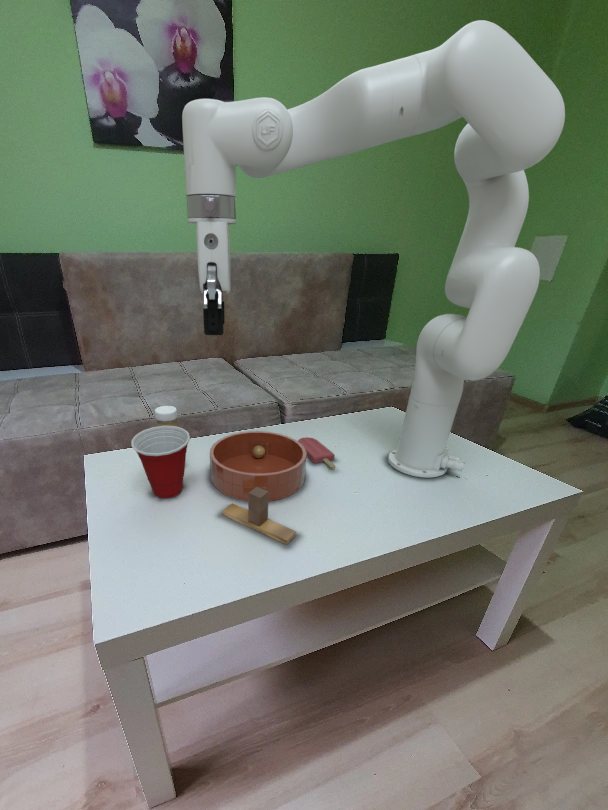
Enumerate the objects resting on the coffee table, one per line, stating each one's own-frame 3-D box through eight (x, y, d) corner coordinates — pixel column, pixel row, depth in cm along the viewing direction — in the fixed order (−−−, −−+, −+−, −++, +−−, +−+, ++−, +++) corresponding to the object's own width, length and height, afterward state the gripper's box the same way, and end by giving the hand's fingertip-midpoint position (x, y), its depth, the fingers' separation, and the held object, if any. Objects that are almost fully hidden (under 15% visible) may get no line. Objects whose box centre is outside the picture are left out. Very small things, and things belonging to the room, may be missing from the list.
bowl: (320, 471, 85) (323, 446, 82) (270, 514, 71) (271, 487, 68) (248, 446, 95) (248, 424, 92) (191, 480, 81) (189, 455, 78)
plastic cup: (128, 500, 75) (117, 444, 69) (158, 473, 84) (151, 422, 77) (177, 511, 72) (171, 454, 66) (203, 482, 81) (199, 430, 74)
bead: (267, 457, 89) (267, 445, 88) (260, 461, 87) (260, 450, 86) (257, 453, 91) (257, 441, 89) (249, 458, 89) (249, 446, 87)
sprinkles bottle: (157, 465, 87) (150, 408, 80) (174, 458, 90) (168, 403, 83) (168, 472, 84) (162, 414, 77) (186, 465, 87) (181, 409, 80)
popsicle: (323, 466, 84) (294, 438, 96) (322, 472, 84) (293, 444, 96) (345, 462, 85) (313, 435, 97) (344, 469, 86) (312, 441, 98)
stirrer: (296, 536, 66) (299, 502, 62) (286, 545, 64) (289, 511, 60) (232, 507, 73) (231, 475, 69) (222, 514, 71) (220, 482, 67)
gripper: (236, 208, 52) (236, 339, 61) (235, 216, 67) (235, 321, 76) (180, 206, 52) (189, 339, 61) (192, 215, 67) (197, 321, 76)
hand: (215, 329), depth 68 cm, fingers open, 9 cm apart
